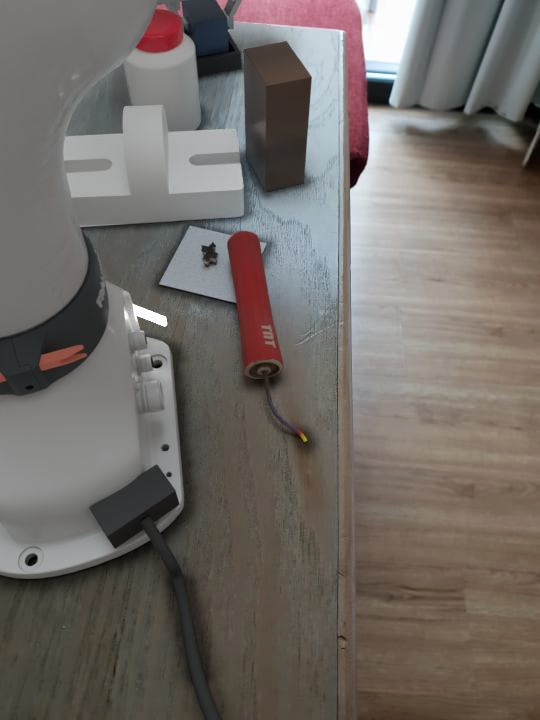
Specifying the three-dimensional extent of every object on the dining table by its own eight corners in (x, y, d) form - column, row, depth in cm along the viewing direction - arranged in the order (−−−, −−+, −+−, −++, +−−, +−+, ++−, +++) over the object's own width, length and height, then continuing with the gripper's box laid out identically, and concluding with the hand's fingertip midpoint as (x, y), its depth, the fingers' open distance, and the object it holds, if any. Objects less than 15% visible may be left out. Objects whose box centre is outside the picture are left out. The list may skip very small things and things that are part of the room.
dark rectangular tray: (241, 69, 77) (241, 52, 75) (192, 78, 75) (191, 62, 74) (221, 35, 81) (220, 19, 79) (174, 43, 80) (172, 27, 78)
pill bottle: (198, 141, 69) (189, 44, 59) (129, 139, 69) (109, 42, 59) (204, 100, 73) (196, 4, 64) (139, 98, 73) (122, 2, 64)
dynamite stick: (219, 248, 57) (246, 446, 47) (235, 225, 55) (267, 427, 44) (261, 259, 59) (296, 450, 49) (278, 237, 57) (318, 433, 47)
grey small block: (241, 304, 55) (240, 290, 54) (158, 284, 56) (155, 270, 55) (266, 243, 60) (267, 229, 58) (189, 226, 61) (188, 211, 59)
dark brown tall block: (304, 183, 65) (312, 76, 55) (265, 192, 64) (266, 85, 54) (282, 147, 68) (286, 40, 58) (245, 155, 67) (243, 48, 57)
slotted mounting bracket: (71, 165, 66) (47, 89, 59) (237, 155, 67) (234, 80, 60) (63, 228, 61) (37, 153, 53) (244, 216, 62) (242, 141, 55)
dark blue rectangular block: (228, 51, 75) (227, 18, 72) (197, 57, 75) (194, 23, 71) (214, 27, 79) (212, -6, 75) (184, 32, 78) (181, -1, 74)
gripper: (104, -76, 60) (128, 59, 72) (296, -102, 64) (290, 30, 76) (91, -101, 64) (117, 32, 75) (275, -124, 68) (273, 6, 79)
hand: (205, 31), depth 76 cm, fingers closed on dark blue rectangular block, 4 cm apart
